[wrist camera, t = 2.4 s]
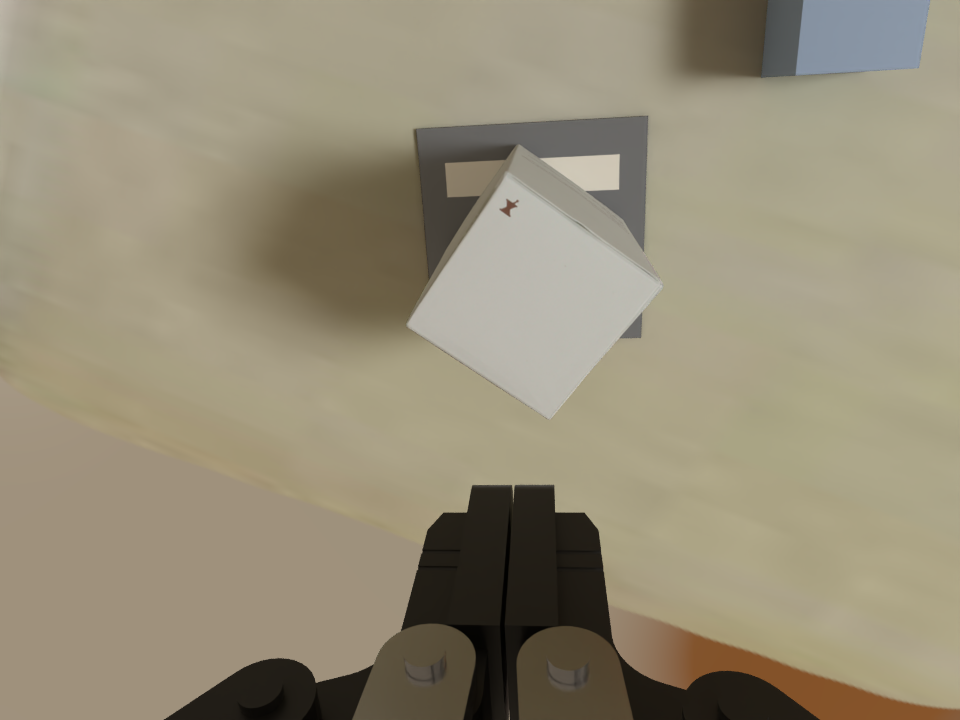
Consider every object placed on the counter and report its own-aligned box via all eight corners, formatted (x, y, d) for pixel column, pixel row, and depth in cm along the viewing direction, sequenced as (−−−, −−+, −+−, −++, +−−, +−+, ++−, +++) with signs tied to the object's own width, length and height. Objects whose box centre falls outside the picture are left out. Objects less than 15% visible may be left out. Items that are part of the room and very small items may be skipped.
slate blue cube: (771, -38, 32) (809, -60, 27) (882, -46, 31) (941, -70, 27) (760, 77, 34) (795, 75, 29) (866, 71, 33) (918, 68, 29)
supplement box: (440, 252, 38) (395, 324, 26) (518, 139, 35) (506, 162, 24) (546, 327, 39) (548, 427, 27) (629, 222, 37) (670, 283, 25)
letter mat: (416, 129, 36) (416, 129, 36) (647, 115, 35) (648, 116, 35) (434, 341, 40) (434, 342, 40) (640, 336, 39) (641, 338, 39)
